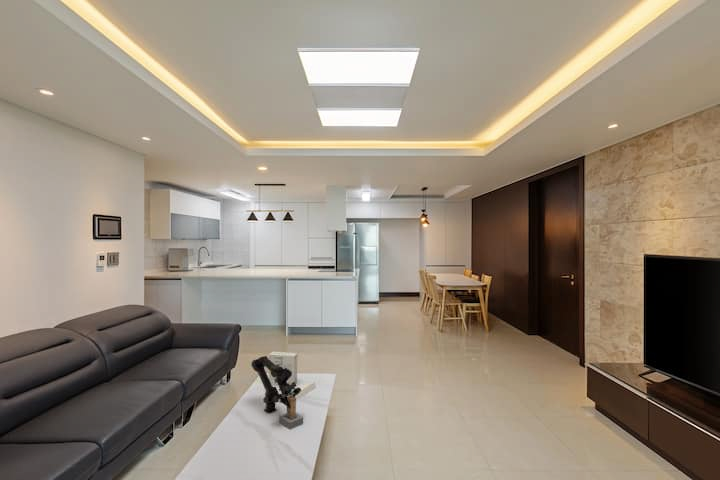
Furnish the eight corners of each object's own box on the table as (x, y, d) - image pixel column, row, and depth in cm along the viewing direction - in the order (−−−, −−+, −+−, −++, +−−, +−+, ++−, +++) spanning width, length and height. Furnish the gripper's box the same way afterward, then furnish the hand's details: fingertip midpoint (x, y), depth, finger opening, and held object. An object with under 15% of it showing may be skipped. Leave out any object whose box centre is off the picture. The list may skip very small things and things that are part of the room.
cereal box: (268, 384, 285) (269, 354, 286) (272, 381, 293) (272, 351, 293) (293, 386, 282) (294, 355, 282) (296, 383, 289) (297, 353, 290)
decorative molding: (278, 406, 254) (289, 405, 250) (277, 399, 255) (288, 398, 251) (306, 389, 285) (315, 388, 281) (304, 383, 286) (314, 382, 281)
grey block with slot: (279, 422, 225) (279, 416, 225) (292, 417, 232) (292, 410, 233) (290, 429, 217) (290, 422, 217) (303, 423, 224) (303, 417, 224)
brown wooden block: (286, 416, 225) (287, 396, 225) (291, 414, 228) (291, 395, 228) (291, 419, 222) (291, 399, 222) (295, 417, 224) (296, 397, 225)
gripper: (275, 382, 221) (285, 406, 213) (299, 375, 235) (309, 396, 227) (268, 391, 226) (278, 414, 219) (292, 383, 240) (302, 404, 232)
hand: (292, 407), depth 224 cm, fingers closed on brown wooden block, 3 cm apart
